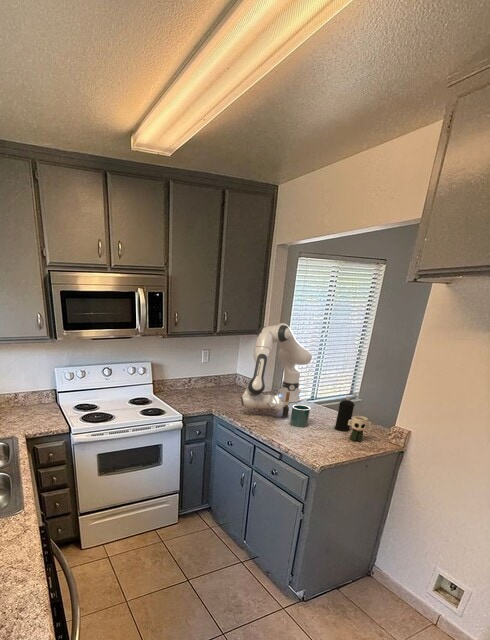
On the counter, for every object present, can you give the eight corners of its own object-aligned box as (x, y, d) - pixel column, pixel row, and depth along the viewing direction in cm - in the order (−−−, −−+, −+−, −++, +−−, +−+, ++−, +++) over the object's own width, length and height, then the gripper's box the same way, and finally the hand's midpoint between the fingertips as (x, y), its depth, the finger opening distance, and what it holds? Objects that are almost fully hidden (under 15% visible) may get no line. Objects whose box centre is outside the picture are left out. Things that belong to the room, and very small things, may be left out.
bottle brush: (281, 414, 236) (284, 391, 230) (287, 415, 235) (290, 391, 229) (282, 416, 232) (285, 392, 226) (288, 416, 232) (291, 393, 226)
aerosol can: (352, 430, 211) (359, 398, 204) (341, 432, 209) (347, 399, 202) (342, 426, 219) (348, 394, 211) (331, 427, 216) (337, 395, 209)
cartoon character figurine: (345, 440, 197) (350, 418, 192) (344, 436, 203) (348, 414, 198) (367, 443, 193) (372, 420, 188) (365, 438, 199) (370, 416, 194)
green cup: (288, 421, 227) (291, 404, 223) (305, 421, 225) (307, 405, 221) (291, 426, 217) (294, 409, 213) (309, 427, 216) (312, 410, 212)
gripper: (269, 401, 221) (292, 402, 219) (264, 393, 240) (286, 394, 238) (268, 411, 223) (290, 412, 222) (263, 402, 242) (284, 403, 241)
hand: (288, 402), depth 230 cm, fingers closed on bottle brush, 2 cm apart
